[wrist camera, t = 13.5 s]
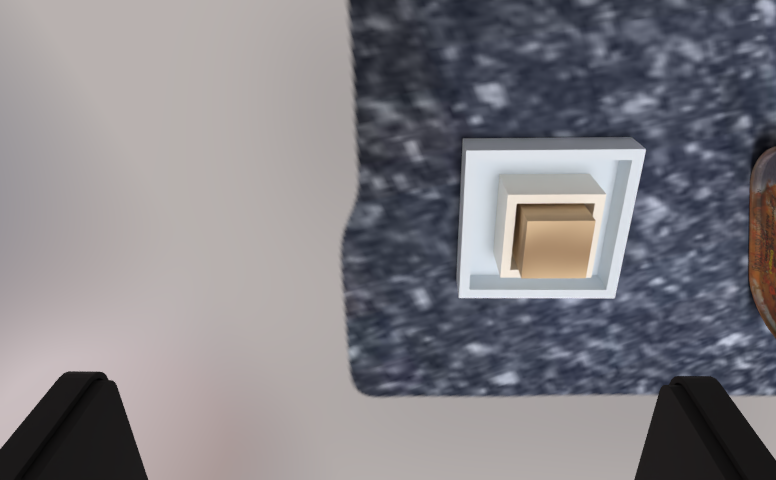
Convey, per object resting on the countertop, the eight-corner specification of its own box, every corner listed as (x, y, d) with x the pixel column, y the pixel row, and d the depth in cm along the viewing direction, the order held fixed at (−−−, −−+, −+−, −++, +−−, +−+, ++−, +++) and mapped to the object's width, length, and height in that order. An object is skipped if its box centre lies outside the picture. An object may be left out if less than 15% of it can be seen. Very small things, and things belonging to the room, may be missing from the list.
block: (514, 191, 36) (527, 221, 32) (575, 191, 36) (595, 220, 32) (509, 244, 38) (521, 278, 34) (567, 244, 38) (585, 278, 34)
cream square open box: (499, 174, 37) (507, 194, 33) (589, 173, 36) (606, 194, 33) (493, 251, 39) (500, 277, 36) (576, 251, 39) (591, 277, 36)
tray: (462, 138, 36) (466, 150, 34) (631, 136, 36) (646, 149, 33) (456, 279, 41) (458, 297, 39) (603, 279, 41) (614, 298, 39)
